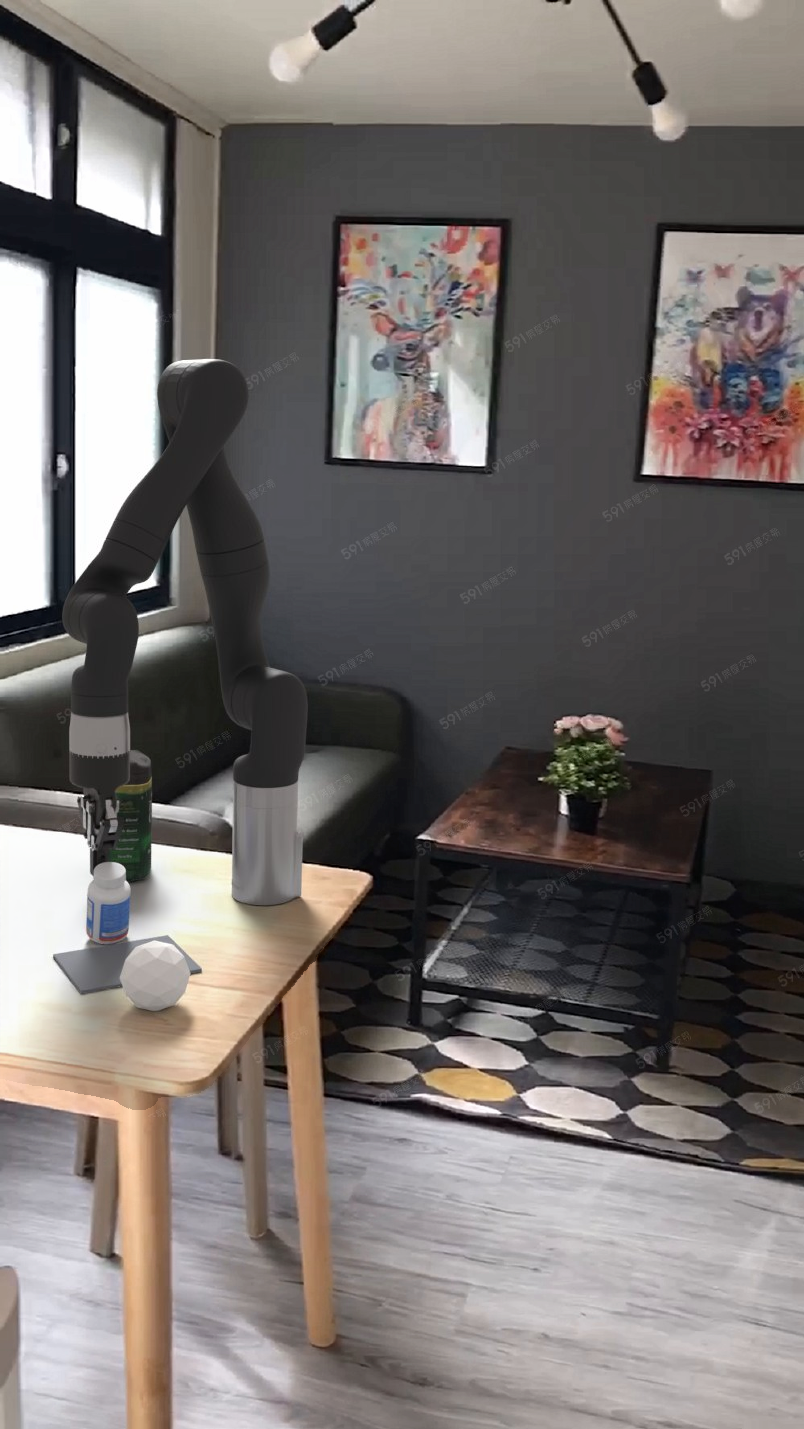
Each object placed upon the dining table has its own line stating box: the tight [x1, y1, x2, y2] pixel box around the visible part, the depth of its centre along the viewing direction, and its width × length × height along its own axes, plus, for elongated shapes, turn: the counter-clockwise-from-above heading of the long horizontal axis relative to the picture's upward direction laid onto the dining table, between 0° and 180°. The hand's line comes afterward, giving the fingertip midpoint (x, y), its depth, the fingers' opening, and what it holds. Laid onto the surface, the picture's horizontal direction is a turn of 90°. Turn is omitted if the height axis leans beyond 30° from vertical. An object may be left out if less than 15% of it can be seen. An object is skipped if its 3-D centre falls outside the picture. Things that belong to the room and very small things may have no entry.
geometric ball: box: [120, 940, 191, 1012], centre depth 144 cm, size 8×8×8 cm
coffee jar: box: [110, 749, 153, 883], centre depth 187 cm, size 10×8×19 cm
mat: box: [52, 934, 203, 995], centre depth 156 cm, size 15×12×1 cm
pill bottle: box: [85, 862, 132, 945], centre depth 162 cm, size 6×5×10 cm
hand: (99, 875), depth 164 cm, fingers closed
